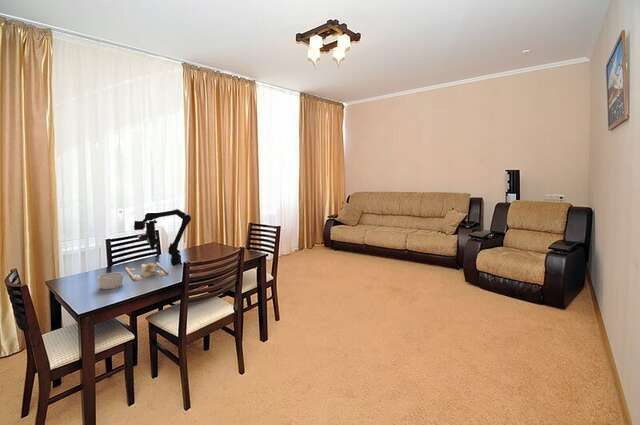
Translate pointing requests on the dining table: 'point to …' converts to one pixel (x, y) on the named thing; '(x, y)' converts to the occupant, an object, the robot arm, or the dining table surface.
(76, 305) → the dining table surface
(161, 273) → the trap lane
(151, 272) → the maple block
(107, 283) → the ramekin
